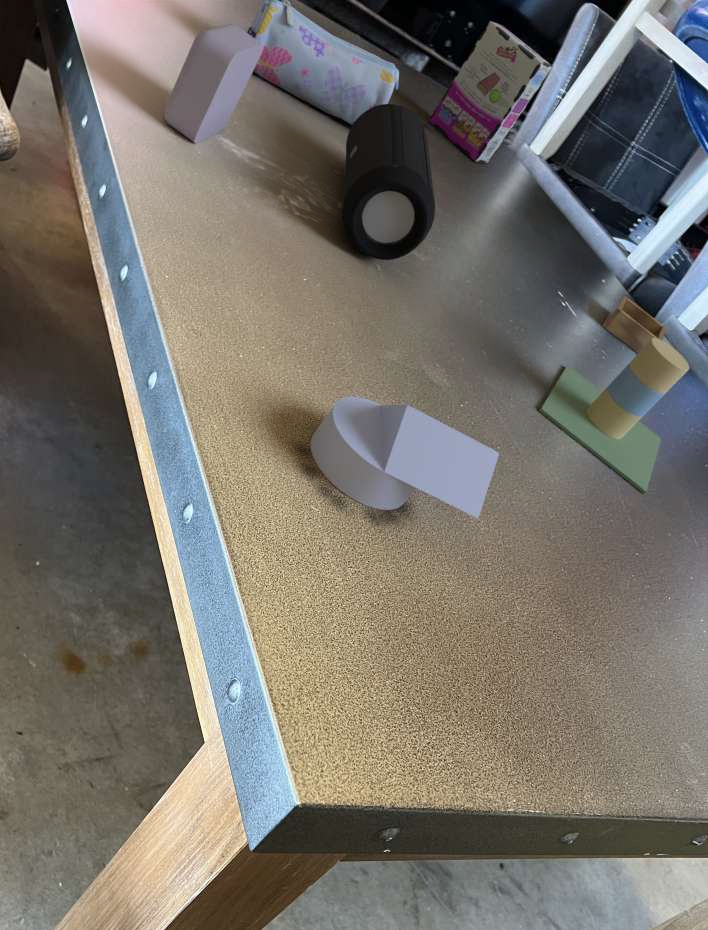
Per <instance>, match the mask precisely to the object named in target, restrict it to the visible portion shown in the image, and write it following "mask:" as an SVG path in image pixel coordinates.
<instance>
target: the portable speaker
mask: <svg viewBox="0 0 708 930" xmlns="http://www.w3.org/2000/svg"><path fill="white" fill-rule="evenodd" d="M429 150H430V149H429V141H428V135H427V132H426V129H425V126H424V124H423V122H422V121H421V119H420V118H419V117H418V115H417V114H416V113H415V112H413V111H412V109H409V108H407V107H405V106H403V105H400V104H395V103H388V104H382V105H378V106H375V107H373V108H370V109H369V110H367V111H365V112H364V113H363V114H362V115H361V116H360V117H359V118H358V119H357V120H356V121H355V122H354V124H353V125H351V126H350V129H349V132H348V133H347V137H346V144H345V165H344V180H343V182H344V183H343V195H342V206H341V223H342V227H343V231H344V233H345V235H346V237H347V239H348V241H349V242H350V243H351V245H353V247H354V248H355V249H356V250H357V251H359V252H360V253H362V254H364V255H366V256H368V257H370V258H373V259H376V260H381V261H391V260H392V261H393V260H397V259H400V258H402V257H405V256H406V255H408V254H410V253H411V252H413V251H415V249H416V248H418V247H419V246H420V245H421V244H422V243H423V242H424V240H425V239H426V238H427V237H428V235H429V233H430V231H431V229H432V226H433V223H434V222H435V221H434V220H435V217H436V216H435V215H436V201H435V191H434V183H433V175H432V174H433V173H432V165H431V158H430V151H429Z"/></svg>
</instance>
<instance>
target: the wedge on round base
mask: <svg viewBox="0 0 708 930" xmlns="http://www.w3.org/2000/svg"><path fill="white" fill-rule="evenodd" d="M310 452H311V456H312V458H313V460H314V462H315V464H316V465H317V468H318V469H319V470H320V472H321V473H322V475H324V476H325V478H326V479H327V480H328V481H329V482H330V483H331V484H332V485H333V486H334V487H335V488H337V489H338V491H341V493H343V494H344V495H345V496H346V497H349V498H350V499H352V500H353V501H356V502H358V503H359V504H362V505H364V506H366V507H369V508H372V509H376V510H382V511H391V510H392V511H393V510H396V509H399V508H400V507H402V506H403V505H404V504H405V503H406V501H407V500H408V499H409V498H410V497H411V496H412V494H413V493H414V492H415V490H416V489H417V490H419V491H422V492H424V493H426V494H428V495H430V496H432V497H434V498H436V499H438V500H439V501H441V502H444V503H445V504H448V505H450V506H452V507H454V508H456V509H458V510H460V511H462V512H464V513H465V514H468V515H470V516H472V517H474V518H476V519H479V518H480V515H481V511H482V509H483V506H484V502H485V499H486V496H487V493H488V490H489V486H490V484H491V481H492V478H493V475H494V472H495V468H496V465H497V463H498V459H499V456H500V452H499V451H496V450H494V449H492V448H491V447H489V446H487V445H485V444H483V443H481V442H480V441H478V440H476V439H473V438H472V437H470V436H468V435H466V434H464V433H462V432H461V431H458V430H456V429H455V428H453V427H451V426H449V425H447V424H445V423H443V422H441V421H439V420H437V419H436V418H434V417H432V416H430V415H429V414H426V413H424V412H423V411H420V410H419V409H417V408H414V407H413V406H411V405H409V404H385V405H383V404H382V405H381V404H380V403H378V402H375V401H373V400H370V399H367V398H364V397H360V396H345V397H342V398H339V399H338V400H337V401H336V402H335V403H334V405H332V407H331V409H330V410H329V412H328V413H327V414H326V416H325V417H324V419H323V420H322V422H321V423H320V424H319V426H318V427H317V429H316V430H315V432H313V435H312V436H311V438H310ZM374 506H375V507H374ZM378 507H379V508H378ZM385 508H386V509H385Z"/></svg>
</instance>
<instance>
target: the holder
mask: <svg viewBox="0 0 708 930" xmlns="http://www.w3.org/2000/svg"><path fill="white" fill-rule="evenodd" d="M601 327H602V328H604V329H606V330H607V331H608V332H609V333H610V334H612V335H613V336H614V337H616V338H617V339H618V340H620V341H621V342H622V343H624V345H626V346H627V347H628V348H630V349H631V350H633V352H634V353H636V355H637V354H638V353H639V352H640V351H641V350H642V349H643V348H644V347H645V345H646V344H647V343H648V342H649V341H650V340H651V339H652V338H657V339H660V340H662V341H663V338H664V336H665V333H666V330H667V327H666V326H664V325H663V323H661V322H660V321H658V320H657V319H656V318H654V317H653V316H652V315H650V314H649V313H648V312H647V311H645V310H644V309H643V308H642V307H640V306H639V305H637V303H635V302H634V301H633V300H632V299H630V298H628V296H626V295H623V296H622V298H620V300H619V301H618V302H617V303H616V305H615V306H614V307H613V308H612V309H611V310H610V312H609V313H608V315H607V316H606V318H605V320H604V322H603V323H602V325H601Z"/></svg>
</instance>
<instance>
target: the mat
mask: <svg viewBox="0 0 708 930" xmlns="http://www.w3.org/2000/svg"><path fill="white" fill-rule="evenodd" d="M602 392H603V391H602V390H601V389H600V388H598V387H597V386H596V385H594V384H593V383H592V382H591V381H589V380H588V379H587V378H585V377H584V376H582V375H581V374H580V373H579V372H578V371H576V370H575V369H574V368H572V367H571V366H570V365H568V364H567V365H566V366H565V367H564V369H563V371H562V372H561V374H560V375H559V377H558V379H557V381H556V382H555V384H554V385H553V387H552V389H551V390H550V391H549V394H548V395H547V397H546V399H545V400H544V402H543V403H542V405H541V406H540V408H539V410H538V412H540V413H541V415H543V416H544V417H546V418H547V419H548V420H549V421H551V422H552V423H553V424H555V425H556V426H557V427H559V428H560V429H561V430H562V431H564V432H565V434H567V435H568V436H570V437H571V438H572V439H573V440H575V441H576V442H577V443H578V444H580V445H581V446H582V447H584V448H585V449H586V450H588V452H590V453H591V454H592V455H594V456H595V457H596V458H598V459H599V460H600V461H602V463H604V464H605V465H606V466H608V467H609V468H610V469H611V470H612V471H614V472H615V473H616V474H618V475H619V476H621V478H623V479H624V480H625V481H627V482H628V483H629V484H630V485H632V486H633V487H634V488H636V489H637V490H638V491H640V492H641V494H643V495H645V494H646V493H647V491H648V488H649V485H650V481H651V477H652V474H653V471H654V467H655V463H656V460H657V456H658V453H659V450H660V446H661V443H662V437H661V436H659V435H658V434H657V433H655V432H654V431H653V430H652V429H650V428H649V427H648V426H646V425H645V424H644V423H643V422H641V421H640V420H639V421H638V422H637V423H636V424H635V425H634V426H633V427H632V428H631V429H630V430H629V431H628V432H627V433H626V434H625V435H624V436H623V437H622V438H621V439H614V438H611V437H609V436H608V435H606V434H604V433H603V432H602V431H600V430H599V429H598V428H597V427H596V426H595V425H594V424H593V423H592V422H591V420H590V419H589V417H588V416H587V413H586V410H587V408H588V407H589V406H590V405H591V404H592V403H593V402H594V401H595V400H596V399H597V397H598V396H599V395H600V394H601V393H602Z"/></svg>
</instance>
